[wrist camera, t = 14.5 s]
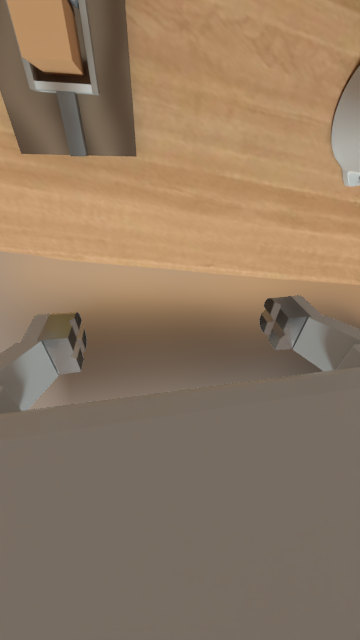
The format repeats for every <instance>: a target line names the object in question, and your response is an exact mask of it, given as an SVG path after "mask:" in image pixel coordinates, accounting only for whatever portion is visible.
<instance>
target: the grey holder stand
mask: <svg viewBox="0 0 360 640" xmlns="http://www.w3.org/2000/svg"><path fill="white" fill-rule="evenodd" d="M67 1H68V3H69V5H70V7H71V9H72V11H73V14H74V16H75V18H76V24H77V30H78V36H79V42H80V48H81V55H82V61H83V67H84V73H85V77H80V76H67V75H53V74H45V73H44V72H43V71H41V70H40V69H38V68H37V67H36V66H34V65H33V64H31V63H30V62H29V61H27V60H26V59H24V58H23V57H22V55H21V52H20V48H19V44H18V41H17V37H16V33H15V30H14V26H13V22H12V19H11V15H10V11H9V8H8V4H7V0H0V91H1V94H2V97H3V100H4V103H5V106H6V109H7V112H8V115H9V118H10V121H11V124H12V127H13V130H14V133H15V136H16V139H17V142H18V145H19V148H20V151H21V154H57V155H71V156H88V155H97V156H136V145H135V131H134V118H133V104H132V91H131V78H130V64H129V51H128V37H127V24H126V11H125V0H67Z"/></svg>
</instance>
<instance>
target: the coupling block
mask: <svg viewBox="0 0 360 640" xmlns="http://www.w3.org/2000/svg"><path fill="white" fill-rule="evenodd" d="M7 4H8V8H9V11H10V15H11V19H12V22H13V26H14V30H15V33H16V37H17V41H18V44H19V48H20V52H21V55H22V57H23V58H24V59H26V60H27V61H29V62H30V63H31V64H33V65H34V66H36V67H37V68H38V69H40V70H41V71H43V72H44V73H45V74H53V75H67V76H80V77H85V73H84V67H83V61H82V55H81V48H80V42H79V36H78V30H77V24H76V18H75V16H74V14H73V11H72V9H71V7H70V5H69V3H68V1H67V0H7Z"/></svg>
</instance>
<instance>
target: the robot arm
mask: <svg viewBox="0 0 360 640" xmlns="http://www.w3.org/2000/svg"><path fill="white" fill-rule="evenodd" d="M332 149H333V153H334V156H335V158H336V160H337V161H338V163H339V164H340V166H341V168H342V170H343V181H344V184H345V185H346V186H357V185H360V178H359V177H360V66H359V67H358V68H357V70H356V71H355V73H354V74H353V76H352V77H351V79H350V81H349V82H348V84H347V86H346V88H345V90H344V92H343V94H342V96H341V99H340V101H339V104H338V106H337V109H336V113H335V116H334V121H333V126H332ZM264 307H265V309H266V310H265V311H264V312H263V313H262V314H261V316H260V327H261V329H262V331H263V332H264V333H265V334H266V335H268V336H269V339H268V340H269V342H270V343H271V344H272V346H273V347H274V349H275V350H282V349H293V350H294V351H296V352H297V353H299V354H300V355H301V356H303V357H304V358H306V359H307V360H309V361H310V362H312V363H313V364H314V365H316V366H317V367H319V368H320V369H322V370H323V371H325V372H317V373H310V374H303V375H295V376H286V377H279V378H271V379H263V380H255V381H248V382H240V383H232V384H224V385H217V386H209V387H201V388H194V389H186V390H178V391H171V392H164V393H155V394H148V395H140V396H132V397H125V398H117V399H109V400H101V401H94V402H86V403H78V404H71V405H63V406H55V407H47V408H40V409H32V410H28V409H29V408H30V407H31V406H32V404H33V403H34V402H35V401H36V400H37V399H38V398H39V397H40V396H41V394H42V393H43V392H44V391H45V390H46V389H47V388H48V387H49V385H50V384H51V383H52V382H53V381H54V380H55V379H56V378H57V377H58V375H59V374H66V373H73V372H81V369H82V365H83V360H84V358H83V355H82V353H83V352H84V351H85V350H86V344H87V339H86V333H85V329H84V328H83V327H81V326H80V325H81V321H82V320H81V317H80V314H79V313H78V312H70V313H52V314H38V315H36V316H35V317H34V319H33V320H32V322H31V324H30V326H29V328H28V330H27V332H26V333H25V336H24V337H23V339H22V341H21V343H16V344H14V345H13V346H11V347H10V348H8V349H6V350H5V351H3V352H2V353H0V640H360V329H358V328H355V327H353V326H350V325H348V324H345V323H343V322H340V321H338V320H336V319H333V318H331V317H328V316H323V315H321V314H320V313H319V312H318V311H317V310H316V309H315V308H314V307H313V306H312V305H311V304H310V303H309V302H308V301H306V300H305V299H304V298H303V297H302V296H299V295H297V296H288V297H278V298H268V299H267V300H266V301H265V304H264Z"/></svg>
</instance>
